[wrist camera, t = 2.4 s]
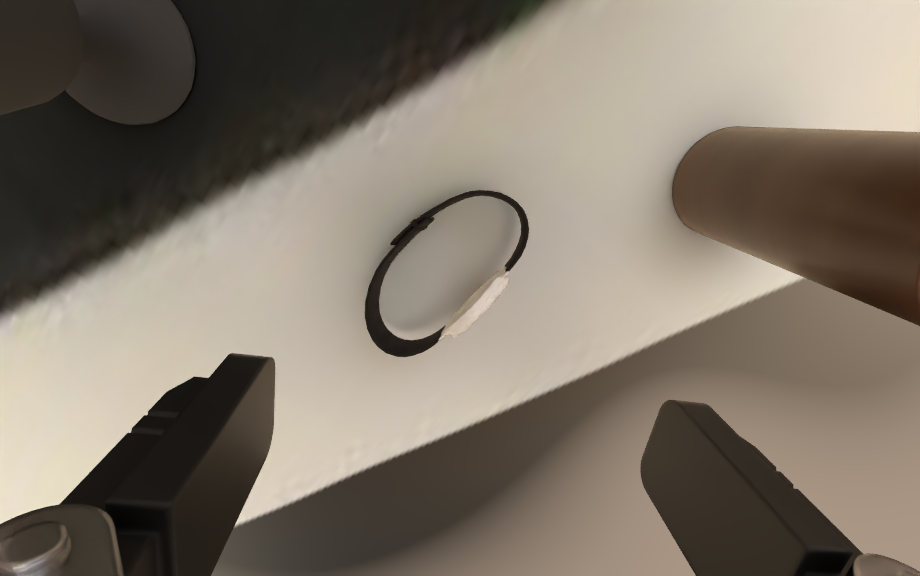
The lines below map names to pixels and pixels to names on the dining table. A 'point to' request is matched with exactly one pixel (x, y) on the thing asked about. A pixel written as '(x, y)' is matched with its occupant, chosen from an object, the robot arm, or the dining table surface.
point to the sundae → (96, 56)
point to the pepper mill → (814, 206)
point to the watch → (469, 309)
